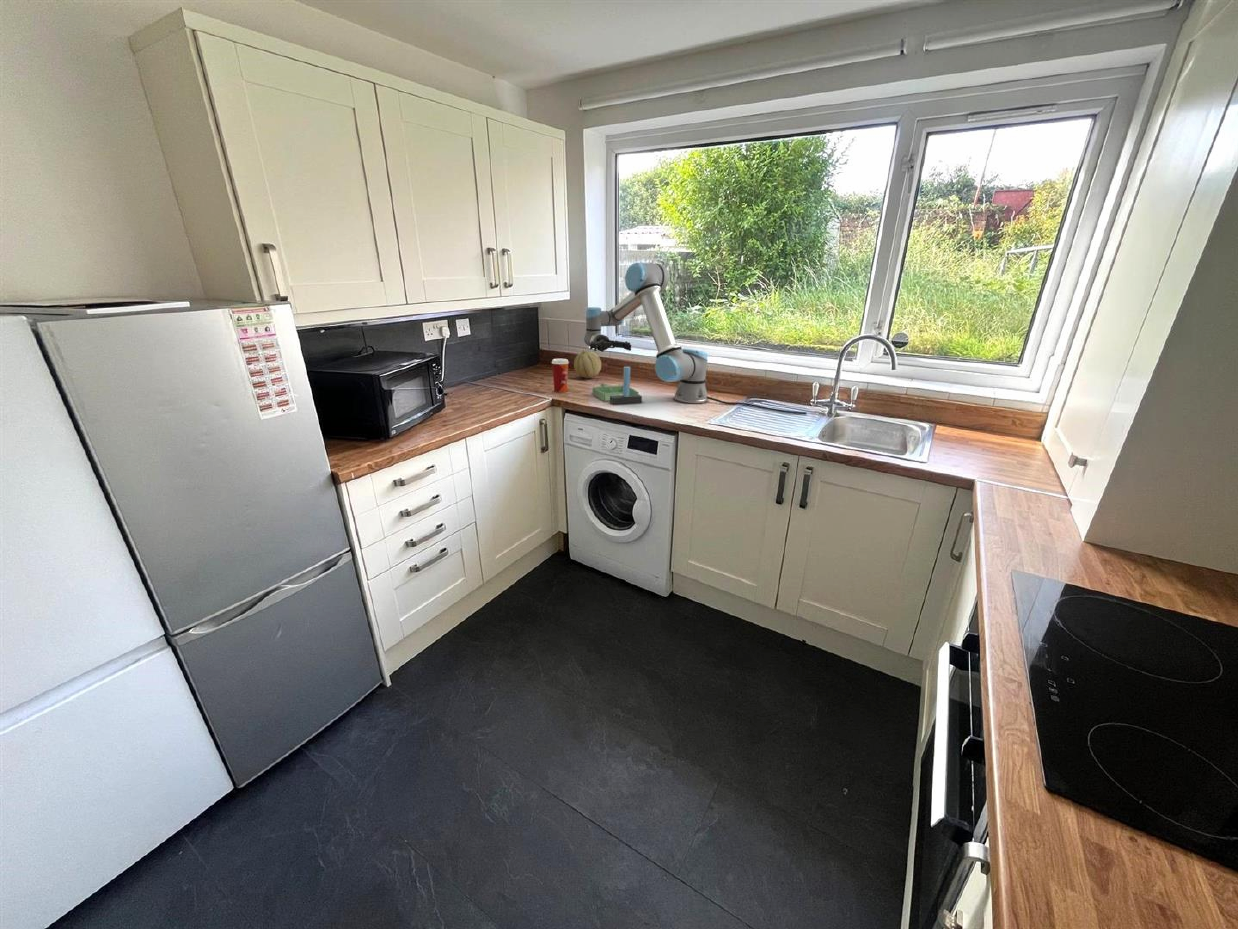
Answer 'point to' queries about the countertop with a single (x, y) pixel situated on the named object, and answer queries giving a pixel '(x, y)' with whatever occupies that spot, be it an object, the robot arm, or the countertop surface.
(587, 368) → the cantaloupe
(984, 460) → the countertop surface
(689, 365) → the robot arm
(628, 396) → the wiper
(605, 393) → the green tray
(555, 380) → the coffee cup
